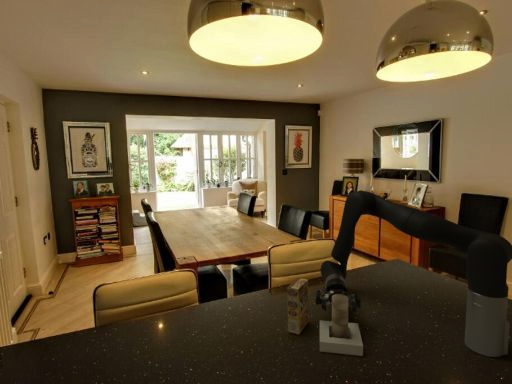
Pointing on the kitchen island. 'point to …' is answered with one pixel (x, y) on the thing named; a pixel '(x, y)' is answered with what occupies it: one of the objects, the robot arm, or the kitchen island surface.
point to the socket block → (340, 340)
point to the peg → (340, 316)
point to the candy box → (297, 305)
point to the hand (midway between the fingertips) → (339, 309)
